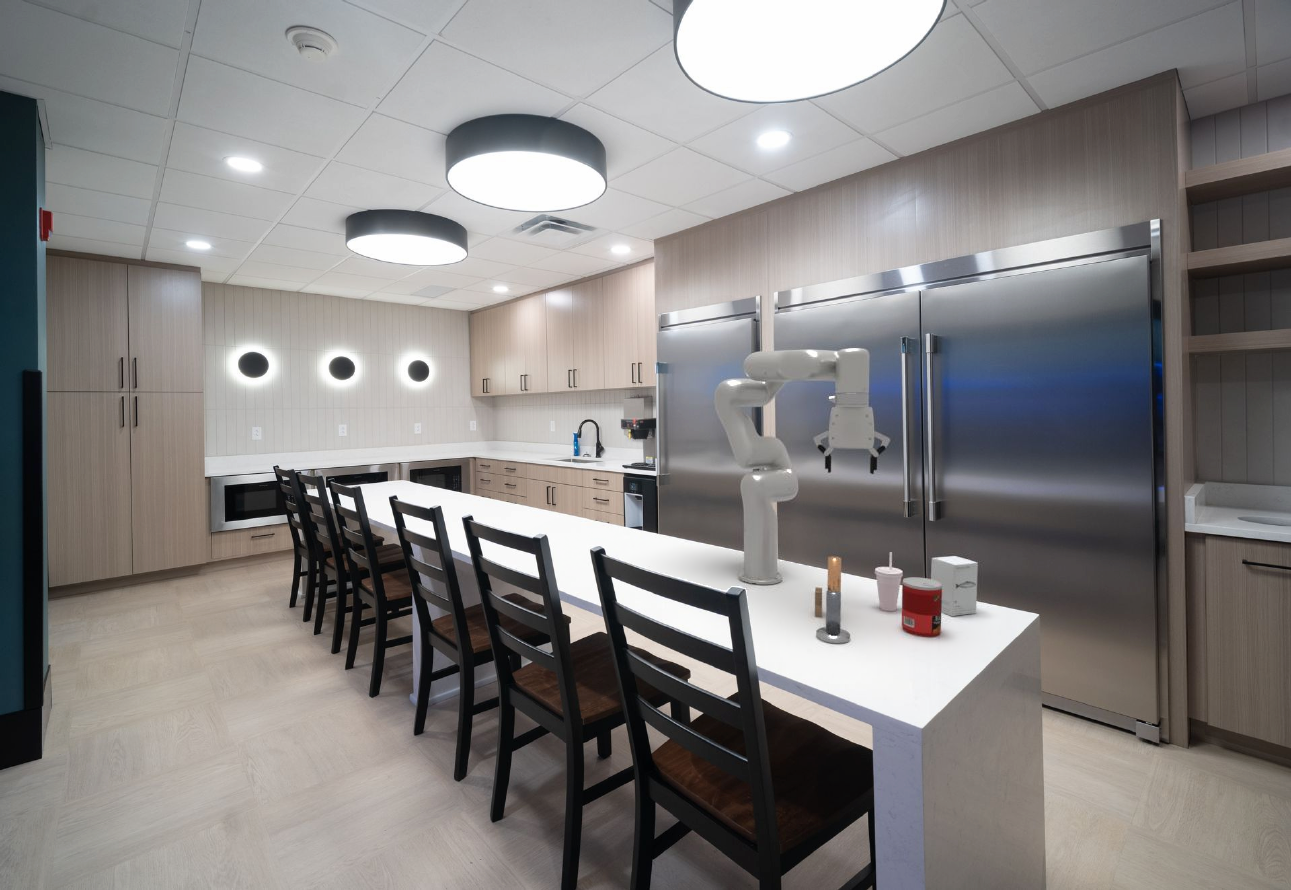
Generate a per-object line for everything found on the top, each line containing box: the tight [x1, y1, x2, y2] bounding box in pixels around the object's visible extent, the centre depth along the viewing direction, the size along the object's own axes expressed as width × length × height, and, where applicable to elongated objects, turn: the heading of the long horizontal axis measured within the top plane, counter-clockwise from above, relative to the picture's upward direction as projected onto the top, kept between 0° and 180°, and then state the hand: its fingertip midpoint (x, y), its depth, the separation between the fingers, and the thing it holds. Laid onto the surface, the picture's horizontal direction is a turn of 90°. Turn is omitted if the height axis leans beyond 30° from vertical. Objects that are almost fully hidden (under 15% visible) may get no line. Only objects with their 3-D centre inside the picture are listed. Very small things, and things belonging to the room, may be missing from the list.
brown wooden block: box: [814, 586, 823, 619], centre depth 142 cm, size 4×2×6 cm, turn 163°
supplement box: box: [930, 555, 979, 617], centre depth 144 cm, size 7×7×13 cm
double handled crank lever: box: [825, 555, 842, 634], centre depth 134 cm, size 17×3×13 cm, turn 162°
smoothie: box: [874, 552, 904, 612], centre depth 146 cm, size 6×6×14 cm
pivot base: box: [815, 626, 851, 645], centre depth 128 cm, size 7×7×1 cm
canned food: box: [901, 576, 942, 638], centre depth 132 cm, size 8×8×11 cm
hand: (850, 472), depth 142 cm, fingers open, 9 cm apart
